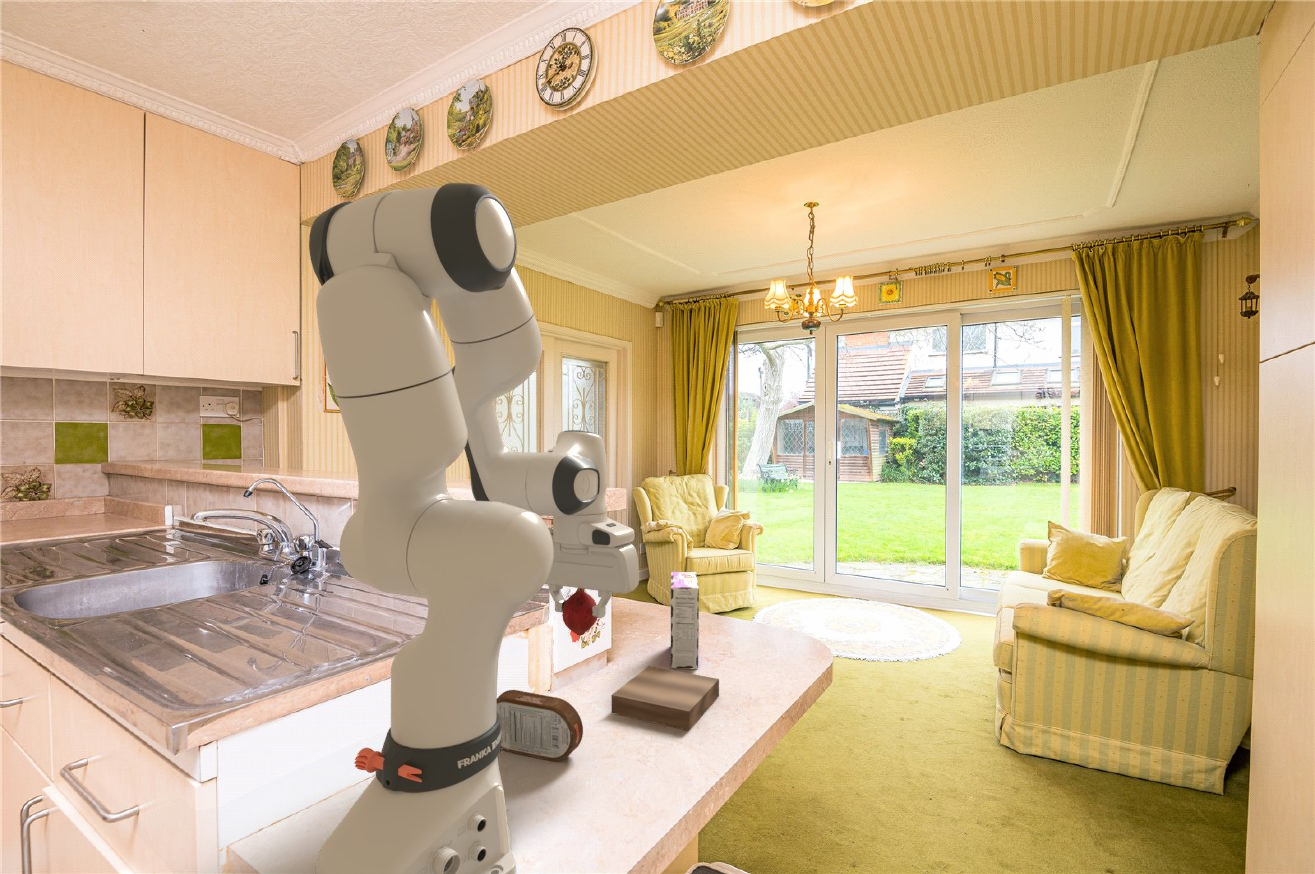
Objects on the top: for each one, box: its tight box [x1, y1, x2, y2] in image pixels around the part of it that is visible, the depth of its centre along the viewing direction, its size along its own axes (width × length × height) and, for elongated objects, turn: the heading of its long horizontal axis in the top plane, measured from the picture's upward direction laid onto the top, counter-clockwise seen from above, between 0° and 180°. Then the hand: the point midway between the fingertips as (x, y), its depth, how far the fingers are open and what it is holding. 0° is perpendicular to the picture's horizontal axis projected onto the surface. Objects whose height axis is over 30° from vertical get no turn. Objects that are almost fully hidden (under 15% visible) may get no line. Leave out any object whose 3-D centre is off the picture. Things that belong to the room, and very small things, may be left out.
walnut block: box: [610, 665, 720, 731], centre depth 102 cm, size 14×14×3 cm
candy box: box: [669, 571, 700, 669], centre depth 125 cm, size 14×6×16 cm, turn 178°
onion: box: [561, 588, 598, 637], centre depth 97 cm, size 6×6×8 cm
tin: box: [497, 689, 584, 762], centre depth 86 cm, size 15×3×8 cm, turn 70°
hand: (579, 614), depth 97 cm, fingers closed on onion, 6 cm apart
